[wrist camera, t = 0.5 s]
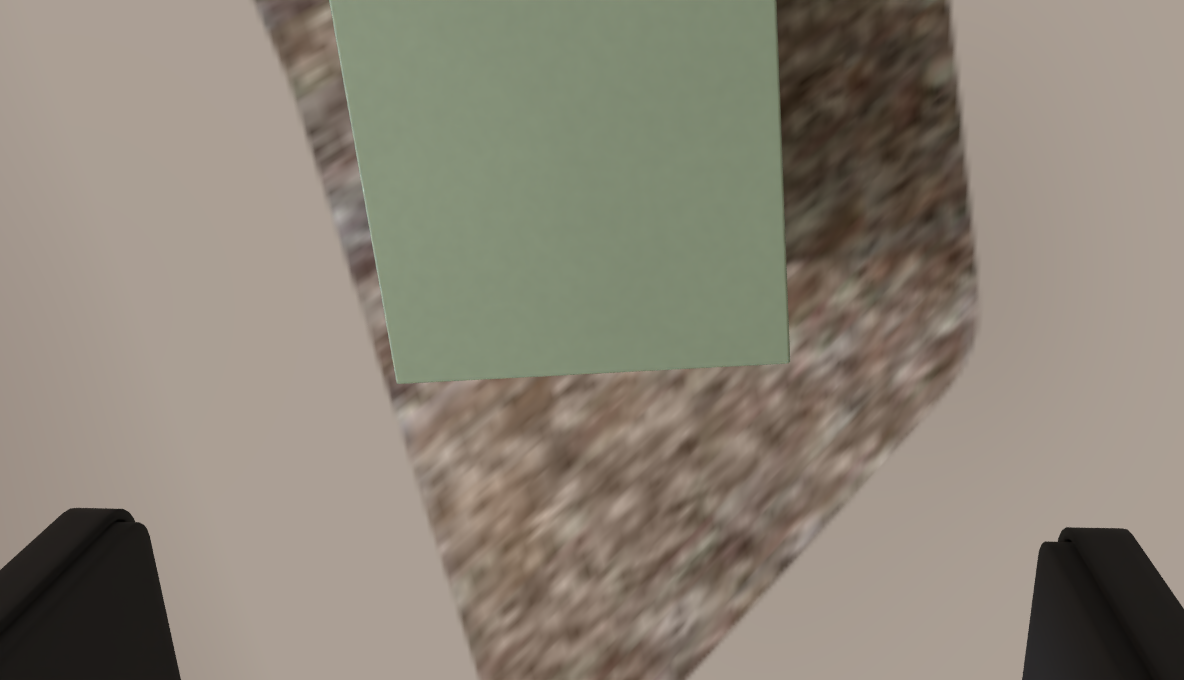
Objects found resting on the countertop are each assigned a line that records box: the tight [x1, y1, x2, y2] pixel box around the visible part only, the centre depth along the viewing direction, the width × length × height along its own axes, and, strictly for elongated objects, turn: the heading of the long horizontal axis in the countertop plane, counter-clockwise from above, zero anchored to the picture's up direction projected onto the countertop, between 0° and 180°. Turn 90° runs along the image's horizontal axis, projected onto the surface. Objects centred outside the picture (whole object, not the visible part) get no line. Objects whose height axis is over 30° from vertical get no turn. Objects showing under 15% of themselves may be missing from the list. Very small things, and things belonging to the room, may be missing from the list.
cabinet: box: [329, 0, 790, 384], centre depth 33 cm, size 14×12×10 cm
